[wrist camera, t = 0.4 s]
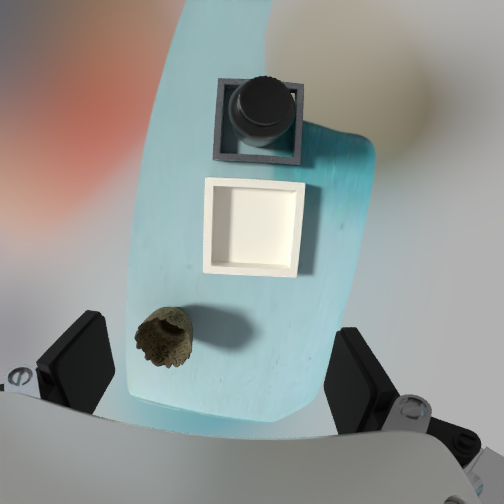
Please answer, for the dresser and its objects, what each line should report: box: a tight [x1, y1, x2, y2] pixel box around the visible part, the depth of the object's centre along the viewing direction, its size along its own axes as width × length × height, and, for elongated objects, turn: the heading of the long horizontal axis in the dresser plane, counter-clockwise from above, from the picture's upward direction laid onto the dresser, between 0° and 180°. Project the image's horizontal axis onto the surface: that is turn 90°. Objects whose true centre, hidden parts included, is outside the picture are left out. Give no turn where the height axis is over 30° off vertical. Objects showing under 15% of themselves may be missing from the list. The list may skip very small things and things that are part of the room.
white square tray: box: [203, 177, 305, 278], centre depth 37 cm, size 12×12×2 cm
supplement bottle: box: [228, 76, 296, 147], centre depth 28 cm, size 7×7×12 cm
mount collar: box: [213, 78, 304, 165], centre depth 33 cm, size 11×11×2 cm
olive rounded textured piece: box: [135, 307, 193, 368], centre depth 37 cm, size 8×7×8 cm
